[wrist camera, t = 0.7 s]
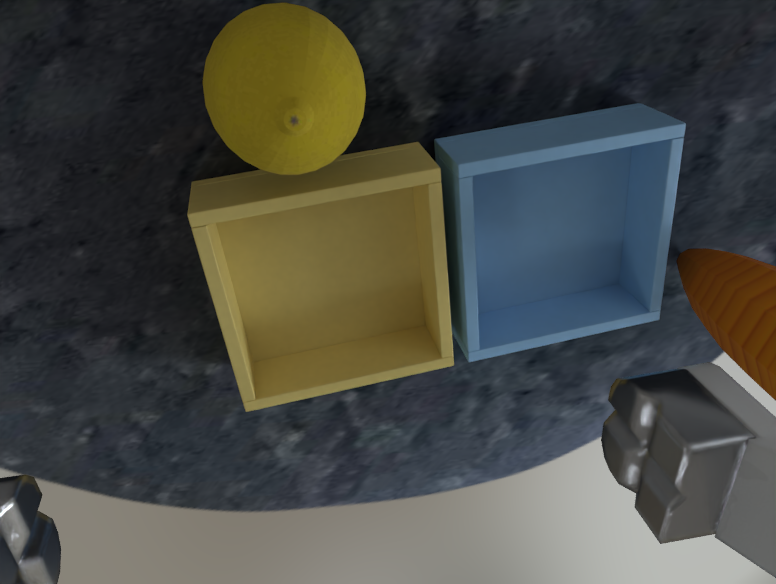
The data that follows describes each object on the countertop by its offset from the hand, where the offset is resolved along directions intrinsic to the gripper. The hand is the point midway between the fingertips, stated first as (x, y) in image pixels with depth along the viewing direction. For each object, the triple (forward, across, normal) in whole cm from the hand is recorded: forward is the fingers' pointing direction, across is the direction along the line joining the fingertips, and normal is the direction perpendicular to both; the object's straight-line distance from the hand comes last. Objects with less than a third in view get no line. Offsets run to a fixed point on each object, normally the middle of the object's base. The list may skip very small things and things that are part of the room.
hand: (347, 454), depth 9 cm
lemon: (+21, 0, -1) cm, 21 cm away
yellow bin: (+20, -2, +8) cm, 22 cm away
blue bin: (+20, -12, +7) cm, 25 cm away
